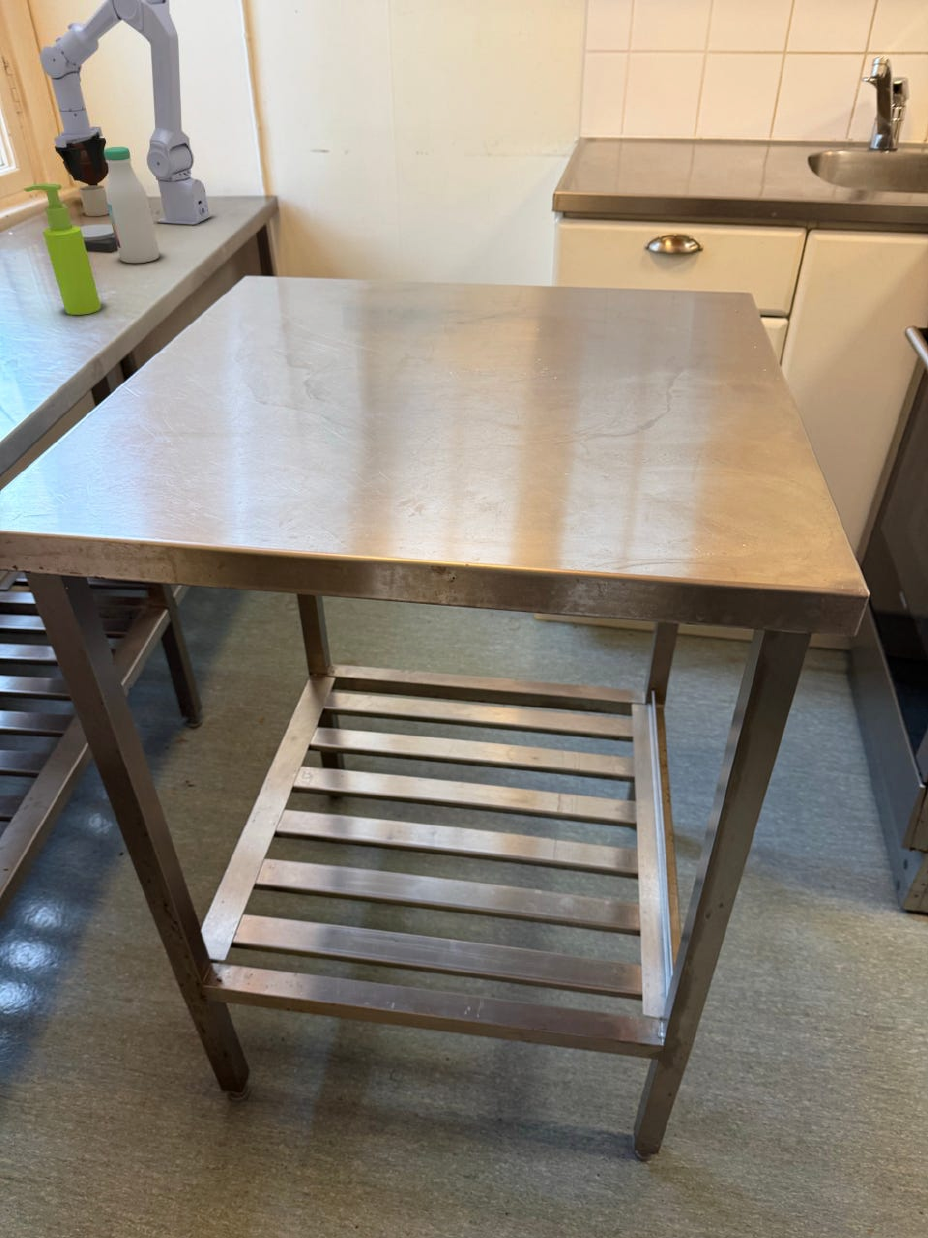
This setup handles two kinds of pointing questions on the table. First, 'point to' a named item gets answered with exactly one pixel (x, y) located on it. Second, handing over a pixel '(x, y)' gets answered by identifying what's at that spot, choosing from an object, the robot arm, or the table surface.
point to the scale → (99, 238)
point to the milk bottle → (129, 209)
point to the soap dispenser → (68, 256)
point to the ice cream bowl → (89, 168)
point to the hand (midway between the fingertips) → (88, 176)
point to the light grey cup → (94, 200)
